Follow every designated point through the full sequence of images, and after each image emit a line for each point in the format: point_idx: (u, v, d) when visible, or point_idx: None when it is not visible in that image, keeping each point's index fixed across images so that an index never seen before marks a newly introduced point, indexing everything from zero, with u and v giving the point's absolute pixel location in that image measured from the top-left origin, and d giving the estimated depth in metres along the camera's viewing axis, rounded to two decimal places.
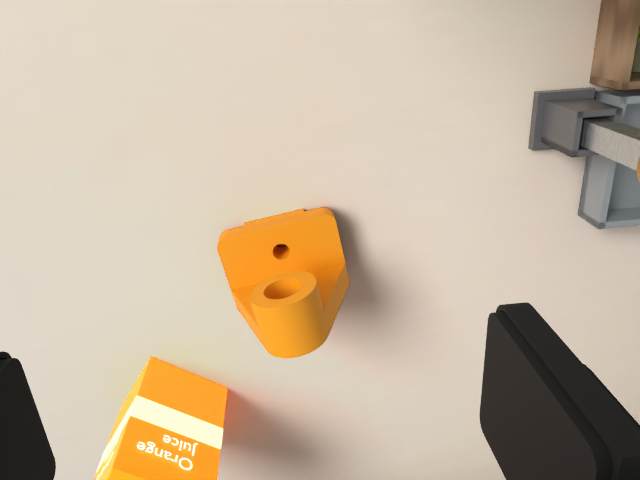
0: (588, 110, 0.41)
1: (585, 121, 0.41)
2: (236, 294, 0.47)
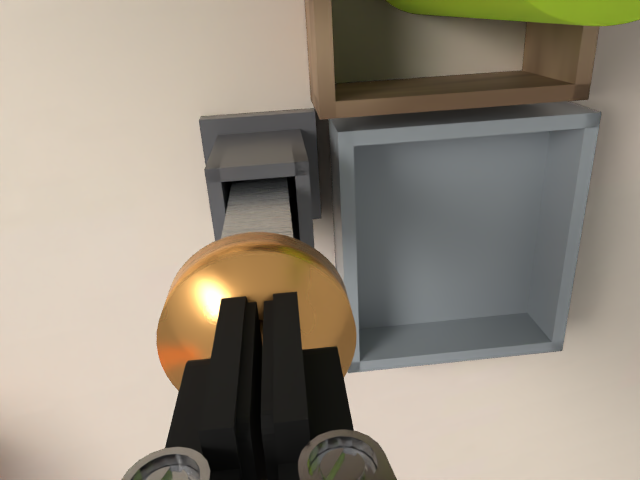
0: (233, 165, 0.18)
1: None
2: None
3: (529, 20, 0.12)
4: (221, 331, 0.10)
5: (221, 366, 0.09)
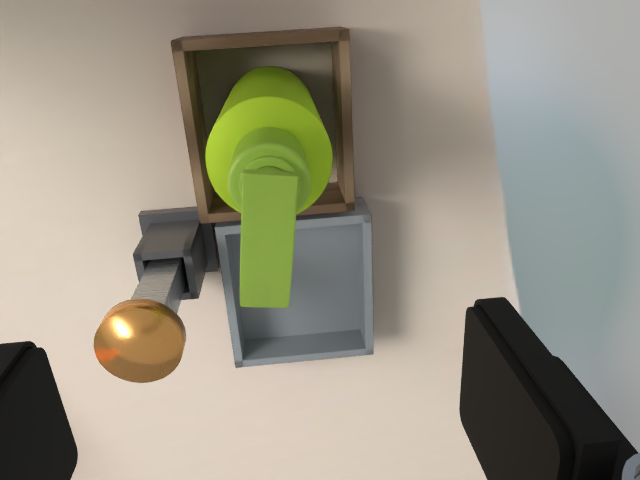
0: (149, 251, 0.33)
1: None
2: None
3: None
4: None
5: None
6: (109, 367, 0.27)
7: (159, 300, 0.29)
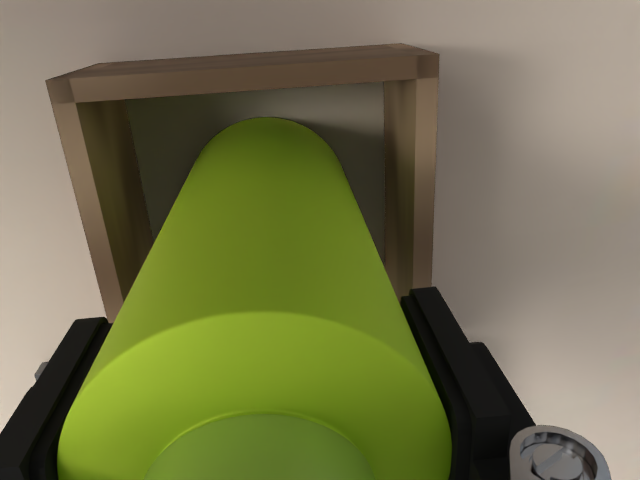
0: None
1: None
2: None
3: None
4: (58, 356, 0.09)
5: (39, 396, 0.08)
6: None
7: None
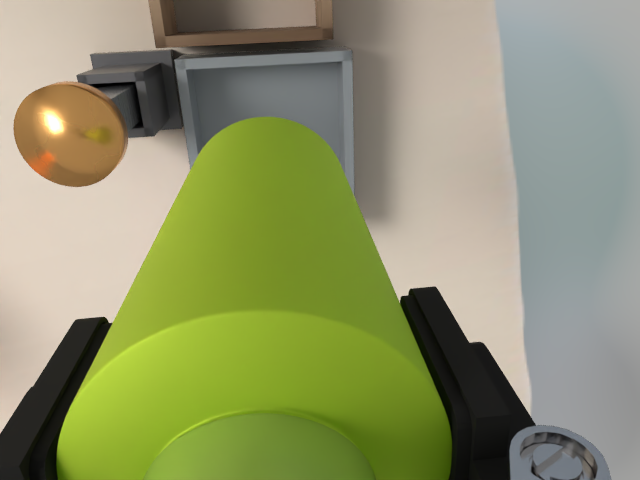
0: (95, 74, 0.29)
1: (105, 85, 0.31)
2: None
3: None
4: (58, 356, 0.09)
5: (39, 396, 0.08)
6: (34, 163, 0.23)
7: None
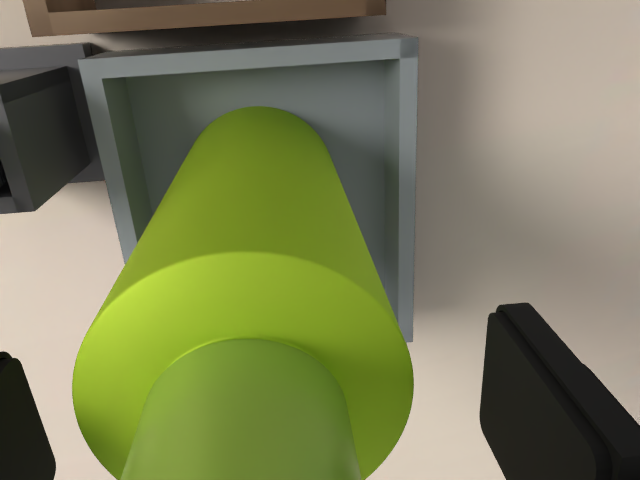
0: None
1: None
2: None
3: None
4: None
5: None
6: None
7: None
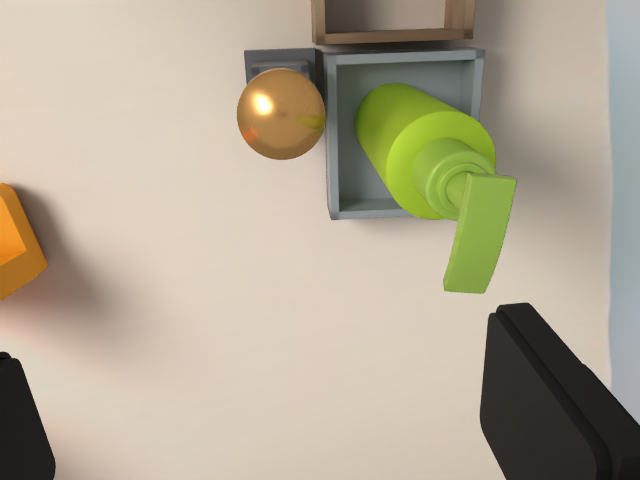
0: (266, 66, 0.33)
1: None
2: None
3: None
4: None
5: None
6: (249, 138, 0.26)
7: None
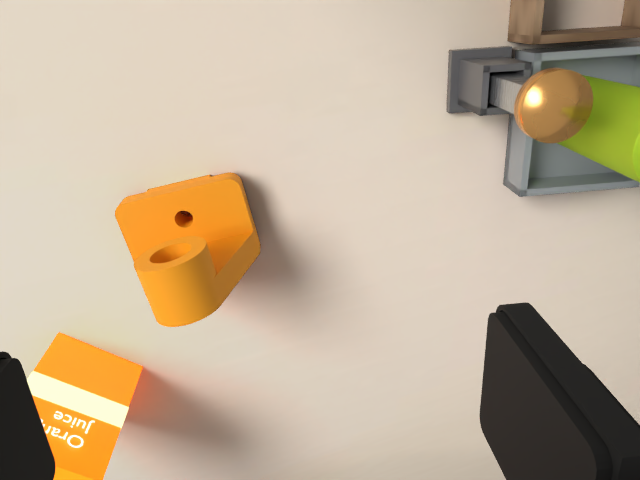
0: (495, 64, 0.38)
1: None
2: None
3: None
4: None
5: None
6: (528, 126, 0.32)
7: None
